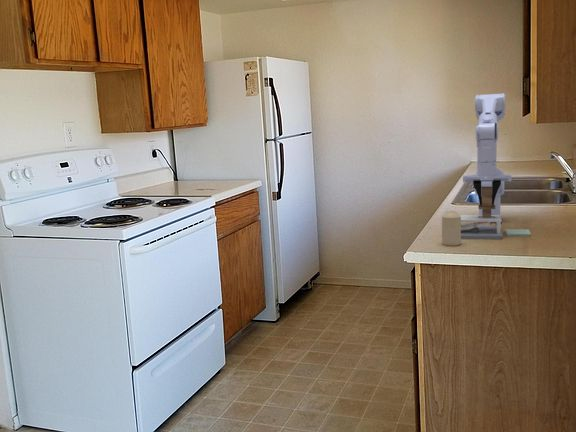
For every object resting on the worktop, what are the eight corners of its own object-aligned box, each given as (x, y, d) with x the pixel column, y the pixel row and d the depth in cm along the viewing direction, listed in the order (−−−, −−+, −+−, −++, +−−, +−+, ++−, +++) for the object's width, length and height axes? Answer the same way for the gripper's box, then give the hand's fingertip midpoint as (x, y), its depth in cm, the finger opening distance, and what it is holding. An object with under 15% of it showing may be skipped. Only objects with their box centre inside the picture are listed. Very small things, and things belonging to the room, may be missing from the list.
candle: (441, 245, 183) (440, 213, 182) (443, 241, 188) (443, 209, 187) (459, 246, 181) (459, 213, 180) (461, 242, 186) (461, 209, 185)
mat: (505, 231, 198) (505, 229, 197) (528, 231, 195) (528, 229, 195) (506, 235, 191) (506, 233, 191) (530, 236, 189) (530, 234, 189)
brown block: (478, 215, 197) (478, 186, 195) (494, 215, 196) (494, 186, 194) (478, 218, 192) (478, 188, 191) (495, 218, 191) (495, 188, 189)
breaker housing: (450, 229, 205) (450, 213, 204) (500, 229, 200) (500, 213, 199) (448, 238, 192) (448, 221, 191) (502, 239, 187) (502, 221, 186)
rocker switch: (461, 227, 199) (460, 224, 199) (489, 222, 196) (489, 219, 196) (461, 230, 195) (460, 227, 195) (490, 225, 192) (489, 221, 192)
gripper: (462, 163, 189) (462, 206, 192) (512, 162, 185) (511, 206, 187) (462, 161, 196) (463, 202, 198) (510, 159, 192) (510, 202, 194)
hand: (486, 204), depth 193 cm, fingers closed on brown block, 3 cm apart
